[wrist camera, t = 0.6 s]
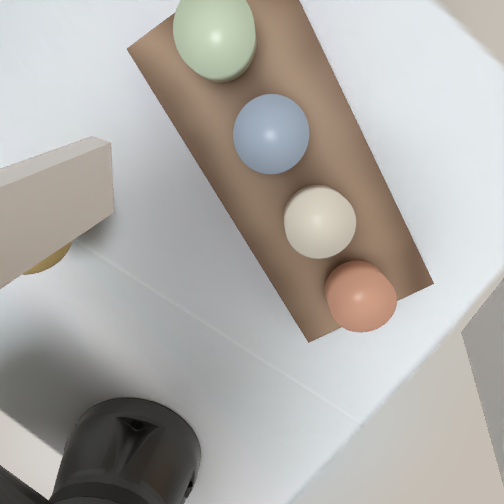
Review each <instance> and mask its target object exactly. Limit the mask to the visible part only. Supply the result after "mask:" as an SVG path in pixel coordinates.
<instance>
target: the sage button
mask: <svg viewBox="0 0 504 504" xmlns="http://www.w3.org/2000/svg"><path fill="white" fill-rule="evenodd" d="M173 35H174V41H175V45H176V47H177V50H178V52H179V54H180V56H181V57H182V59H183V60H184V61H185V63H186V64H187V65H188V66H189V67H190V68H192V69H193V70H194V71H195V72H196V73H197V74H198V75H200V76H201V77H203V78H204V79H206V80H209V81H212V82H216V83H224V82H229V81H232V80H235V79H236V78H238V77H240V76H241V75H242V74H243V73H244V72H245V71H246V70H247V69H248V67H249V66H250V64H251V62H252V60H253V58H254V55H255V51H256V31H255V24H254V18H253V15H252V11H251V9H250V7H249V5H248V3H247V2H246V0H181V1H180V3H179V5H178V7H177V9H176V12H175V16H174V21H173Z"/></svg>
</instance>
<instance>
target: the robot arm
mask: <svg viewBox="0 0 504 504" xmlns="http://www.w3.org/2000/svg"><path fill="white" fill-rule="evenodd" d="M113 213H114V198H113V176H112V155H111V142H107V141H104V140H101V139H98V138H95V137H89V138H86V139H83V140H80V141H77V142H75V143H72V144H69V145H66V146H63V147H60V148H58V149H55V150H52V151H49V152H46V153H44V154H41V155H38V156H35V157H32V158H29V159H27V160H24V161H21V162H18V163H15V164H13V165H10V166H7V167H4V168H1V169H0V289H1V288H2V287H4V286H5V285H7V284H8V283H10V282H11V281H13V280H14V279H16V278H17V277H19V276H20V275H22V274H23V273H25V272H26V271H28V270H29V269H31V268H32V267H34V266H35V265H37V264H38V263H40V262H41V261H43V260H44V259H46V258H47V257H49V256H50V255H52V254H53V253H55V252H56V251H58V250H59V249H60V248H62V247H63V246H65V245H66V244H68V243H69V242H71V241H72V240H74V239H75V238H77V237H78V236H80V235H81V234H83V233H84V232H86V231H87V230H89V229H90V228H92V227H93V226H95V225H96V224H98V223H99V222H101V221H102V220H104V219H105V218H107V217H108V216H110V215H111V214H113ZM461 333H462V336H463V340H464V344H465V347H466V351H467V354H468V358H469V361H470V365H471V369H472V373H473V376H474V380H475V383H476V387H477V391H478V394H479V398H480V402H481V405H482V409H483V412H484V416H485V420H486V423H487V427H488V431H489V434H490V438H491V441H492V445H493V448H494V452H495V456H496V460H497V463H498V467H499V471H500V474H501V478H502V482H503V485H504V279H503V280H502V281H501V282H500V284H499V285H498V286H497V288H496V289H495V290H494V291H493V293H492V294H491V295H490V296H489V298H488V299H487V300H486V301H485V303H484V304H483V305H482V306H481V308H480V309H479V310H478V312H477V313H476V314H475V315H474V317H473V318H472V319H471V320H470V322H469V323H468V324H467V325H466V327H465V328H464V329H463V330H462V332H461ZM200 458H201V452H200V446H199V443H198V440H197V438H196V436H195V434H194V432H193V431H192V429H191V428H190V426H189V425H188V424H187V423H186V422H185V421H184V420H183V419H182V418H181V417H179V416H178V415H177V414H176V413H174V412H173V411H171V410H169V409H168V408H166V407H164V406H161V405H159V404H156V403H154V402H150V401H146V400H142V399H134V398H120V399H113V400H109V401H105V402H102V403H100V404H98V405H96V406H94V407H92V408H91V409H90V410H88V411H87V412H86V413H85V414H84V415H83V416H82V417H81V419H80V420H79V422H78V423H77V425H76V426H75V428H74V429H73V431H72V432H71V434H70V436H69V438H68V440H67V442H66V445H65V449H64V454H63V458H62V461H61V465H60V468H59V472H58V475H57V479H56V482H55V486H54V490H53V494H52V496H51V497H50V499H49V501H48V500H47V499H46V498H44V497H43V496H42V495H40V494H39V493H38V492H36V491H35V490H33V489H32V488H31V487H29V486H28V485H27V484H25V483H24V482H22V481H21V480H20V479H18V478H17V477H16V476H14V475H13V474H12V473H10V472H9V471H7V470H6V469H5V468H3V467H2V466H1V465H0V504H184V502H185V500H186V498H187V497H188V496H189V494H190V493H191V491H192V489H193V487H194V484H195V482H196V478H197V474H198V469H199V465H200Z"/></svg>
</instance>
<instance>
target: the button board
mask: <svg viewBox="0 0 504 504" xmlns="http://www.w3.org/2000/svg"><path fill="white" fill-rule="evenodd" d="M246 2H247V3H248V5H249V7H250V9H251V11H252V15H253V18H254V24H255V31H256V51H255V55H254V58H253V60H252V62H251V64H250V66H249V67H248V69H247V70H246V71H245V72H244V73H243V74H242V75H241V76H240V77H238V78H236V79H235V80H232V81H229V82H224V83H216V82H212V81H209V80H206V79H204V78H203V77H201V76H200V75H198V74H197V73H196V72H195V71H194V70H193V69H192V68H190V67H189V66H188V65H187V64H186V63H185V61H184V60H183V59H182V57H181V56H180V54H179V52H178V50H177V47H176V45H175V41H174V35H173V21H174V16H175V13H174V14H173V15H171V16H170V17H169V18H167V19H166V20H165V21H163V22H162V23H161V24H159V25H158V26H157V27H155V28H154V29H153V30H151V31H150V32H149V33H147V34H146V35H145V36H143V37H142V38H141V39H139V40H138V41H137V42H135V43H134V44H133V45H131V46H130V47H129V48H127V50H128V52H129V54H130V55H131V57H132V58H133V60H134V62H135V63H136V65H137V66H138V68H139V70H140V71H141V73H142V75H143V76H144V78H145V79H146V81H147V83H148V84H149V86H150V87H151V89H152V91H153V92H154V94H155V95H156V97H157V99H158V100H159V102H160V104H161V105H162V107H163V108H164V110H165V112H166V113H167V115H168V116H169V118H170V120H171V121H172V123H173V125H174V126H175V128H176V129H177V131H178V133H179V134H180V136H181V137H182V139H183V141H184V142H185V144H186V146H187V147H188V149H189V150H190V152H191V154H192V155H193V157H194V158H195V160H196V162H197V163H198V165H199V167H200V168H201V170H202V171H203V173H204V175H205V176H206V178H207V179H208V181H209V183H210V184H211V186H212V188H213V189H214V191H215V192H216V194H217V196H218V197H219V199H220V200H221V202H222V204H223V205H224V207H225V209H226V210H227V212H228V213H229V215H230V217H231V218H232V220H233V221H234V223H235V225H236V226H237V228H238V230H239V231H240V233H241V234H242V236H243V238H244V239H245V241H246V242H247V244H248V246H249V247H250V249H251V250H252V252H253V254H254V255H255V257H256V259H257V260H258V262H259V263H260V265H261V267H262V268H263V270H264V271H265V273H266V275H267V276H268V278H269V280H270V281H271V283H272V284H273V286H274V288H275V289H276V291H277V292H278V294H279V296H280V297H281V299H282V301H283V302H284V304H285V305H286V307H287V309H288V310H289V312H290V313H291V315H292V317H293V318H294V320H295V322H296V323H297V325H298V326H299V328H300V330H301V331H302V333H303V334H304V336H305V338H306V339H307V341H308V343H309V342H311V341H313V340H315V339H318V338H320V337H322V336H324V335H326V334H328V333H330V332H332V331H335V330H337V329H339V328H341V326H340V325H339V324H338V323H337V322H336V321H335V320H334V318H333V316H332V314H331V312H330V309H329V306H328V303H327V300H326V297H325V283H326V280H327V278H328V276H329V275H330V273H331V272H332V271H333V270H334V269H335V268H337V267H338V266H340V265H341V264H344V263H346V262H349V261H365V262H368V263H371V264H373V265H374V266H376V267H377V268H378V269H379V270H380V271H381V272H382V273H383V275H384V276H385V277H386V278H387V280H388V281H389V282H390V283H391V284H392V286H393V287H394V289H395V292H396V296H397V301H398V300H400V299H403V298H405V297H407V296H409V295H411V294H413V293H415V292H417V291H420V290H422V289H424V288H426V287H428V286H430V285H432V284H434V283H433V281H432V278H431V276H430V274H429V272H428V270H427V268H426V266H425V264H424V262H423V260H422V257H421V255H420V253H419V251H418V249H417V247H416V245H415V243H414V241H413V239H412V236H411V234H410V232H409V230H408V228H407V226H406V224H405V222H404V220H403V218H402V215H401V213H400V211H399V209H398V207H397V205H396V203H395V201H394V199H393V197H392V194H391V192H390V190H389V188H388V186H387V184H386V182H385V180H384V178H383V176H382V173H381V171H380V169H379V167H378V165H377V163H376V161H375V159H374V157H373V154H372V152H371V150H370V148H369V146H368V144H367V142H366V140H365V138H364V136H363V133H362V131H361V129H360V127H359V125H358V123H357V121H356V119H355V117H354V115H353V112H352V110H351V108H350V106H349V104H348V102H347V100H346V98H345V96H344V94H343V91H342V89H341V87H340V85H339V83H338V81H337V79H336V77H335V75H334V73H333V70H332V68H331V66H330V64H329V62H328V60H327V58H326V56H325V54H324V52H323V49H322V47H321V45H320V43H319V41H318V39H317V37H316V35H315V33H314V30H313V28H312V26H311V24H310V22H309V20H308V18H307V16H306V14H305V12H304V9H303V7H302V5H301V3H300V1H299V0H246ZM266 94H277V95H282V96H285V97H287V98H289V99H291V100H292V101H294V102H295V103H296V104H297V105H298V106H299V107H300V108H301V109H302V111H303V112H304V114H305V116H306V118H307V121H308V125H309V142H308V146H307V149H306V151H305V153H304V155H303V156H302V158H301V159H300V160H299V162H298V163H297V164H296V165H294V166H293V167H292V168H290V169H289V170H287V171H285V172H282V173H278V174H263V173H259V172H257V171H255V170H252V169H251V168H249V167H248V166H247V165H246V164H245V163H244V162H243V161H242V160H241V158H240V157H239V155H238V153H237V151H236V149H235V145H234V140H233V130H234V124H235V121H236V118H237V116H238V114H239V113H240V111H241V110H242V108H243V107H244V106H245V105H246V104H247V103H248V102H250V101H251V100H253V99H254V98H256V97H259V96H262V95H266ZM311 185H324V186H328V187H330V188H332V189H334V190H336V191H337V192H338V193H339V194H341V195H342V196H343V197H344V198H345V199H347V200H348V202H349V203H350V204H351V206H352V207H353V210H354V212H355V216H356V229H355V233H354V236H353V238H352V240H351V241H350V243H349V244H348V245H347V247H346V248H345V249H343V250H342V251H341V252H339V253H338V254H336V255H334V256H331V257H328V258H322V259H316V258H310V257H306V256H304V255H302V254H300V253H299V252H297V251H296V250H295V249H294V248H293V247H292V246H291V244H290V243H289V241H288V239H287V236H286V233H285V227H284V219H283V216H284V210H285V207H286V204H287V202H288V201H289V199H290V198H291V197H292V196H293V194H295V193H296V192H297V191H299V190H300V189H302V188H304V187H307V186H311Z"/></svg>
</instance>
